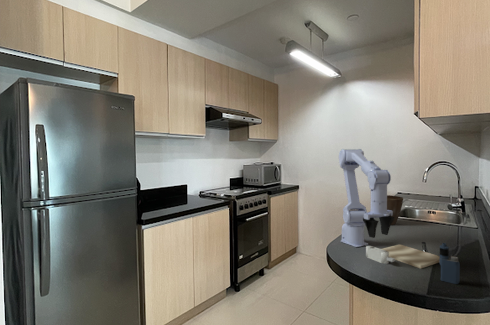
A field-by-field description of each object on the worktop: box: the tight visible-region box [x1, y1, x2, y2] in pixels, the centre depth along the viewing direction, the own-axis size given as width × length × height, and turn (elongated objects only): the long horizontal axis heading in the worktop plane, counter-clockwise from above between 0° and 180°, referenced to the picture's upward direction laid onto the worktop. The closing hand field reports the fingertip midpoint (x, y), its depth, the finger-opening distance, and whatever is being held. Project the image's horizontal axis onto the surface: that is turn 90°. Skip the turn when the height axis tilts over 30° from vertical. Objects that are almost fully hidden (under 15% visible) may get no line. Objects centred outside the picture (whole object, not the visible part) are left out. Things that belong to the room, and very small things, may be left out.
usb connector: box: [365, 245, 396, 265], centre depth 104 cm, size 11×3×4 cm, turn 27°
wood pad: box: [381, 244, 440, 269], centre depth 108 cm, size 18×16×1 cm
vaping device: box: [439, 242, 461, 285], centre depth 87 cm, size 3×5×12 cm, turn 51°
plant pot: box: [387, 194, 404, 226], centre depth 160 cm, size 15×15×16 cm
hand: (378, 235), depth 105 cm, fingers open, 7 cm apart
